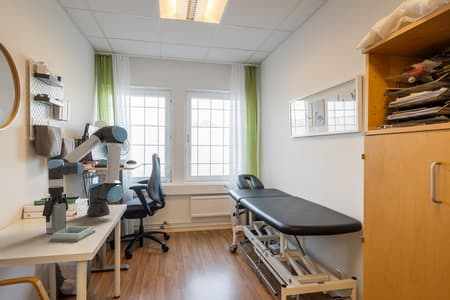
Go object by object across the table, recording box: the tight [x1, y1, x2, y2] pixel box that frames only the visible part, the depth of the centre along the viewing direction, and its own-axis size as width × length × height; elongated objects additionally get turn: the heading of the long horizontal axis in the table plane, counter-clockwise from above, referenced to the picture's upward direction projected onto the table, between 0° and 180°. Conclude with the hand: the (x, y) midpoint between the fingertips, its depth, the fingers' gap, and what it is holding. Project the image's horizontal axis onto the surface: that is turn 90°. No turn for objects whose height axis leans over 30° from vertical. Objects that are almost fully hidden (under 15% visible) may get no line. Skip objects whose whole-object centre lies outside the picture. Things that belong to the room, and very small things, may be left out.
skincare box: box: [45, 203, 67, 235], centre depth 149 cm, size 8×7×16 cm
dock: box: [49, 225, 96, 243], centre depth 140 cm, size 16×15×4 cm
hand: (56, 224), depth 149 cm, fingers open, 10 cm apart
